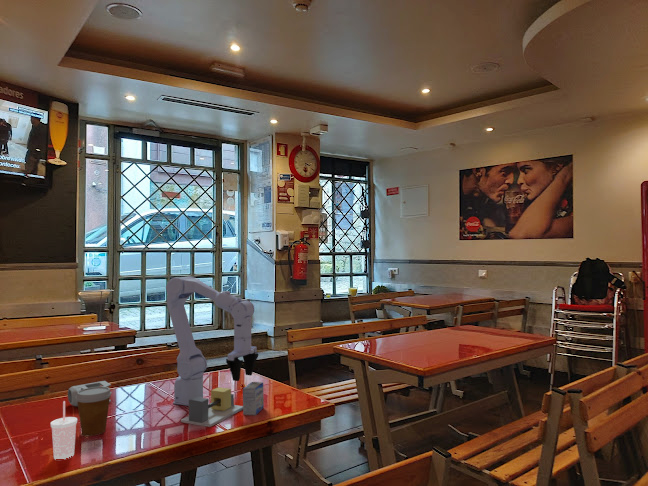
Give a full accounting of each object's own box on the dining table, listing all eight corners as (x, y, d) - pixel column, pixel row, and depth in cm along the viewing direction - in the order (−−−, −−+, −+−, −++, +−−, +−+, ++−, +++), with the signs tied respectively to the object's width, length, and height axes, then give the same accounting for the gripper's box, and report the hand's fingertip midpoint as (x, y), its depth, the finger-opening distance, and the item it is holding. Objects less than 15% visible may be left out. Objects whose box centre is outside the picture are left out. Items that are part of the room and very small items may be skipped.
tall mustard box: (211, 408, 154) (211, 390, 154) (218, 405, 158) (218, 387, 158) (223, 410, 152) (223, 392, 152) (231, 407, 156) (230, 388, 156)
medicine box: (255, 415, 150) (255, 388, 150) (242, 415, 151) (242, 387, 151) (263, 408, 158) (263, 382, 158) (251, 407, 159) (251, 381, 159)
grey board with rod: (181, 422, 145) (181, 398, 145) (216, 404, 162) (216, 383, 162) (210, 427, 141) (210, 402, 141) (243, 408, 157) (243, 387, 157)
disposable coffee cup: (87, 440, 131) (87, 397, 132) (68, 434, 136) (68, 392, 137) (118, 429, 139) (118, 388, 140) (99, 423, 144) (99, 384, 145)
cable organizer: (75, 392, 156) (113, 385, 164) (65, 384, 165) (102, 378, 173) (75, 413, 156) (113, 405, 164) (65, 403, 165) (102, 396, 173)
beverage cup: (44, 459, 120) (44, 403, 120) (65, 449, 125) (65, 396, 126) (62, 462, 117) (62, 406, 118) (82, 453, 123) (82, 399, 123)
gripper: (240, 341, 150) (240, 384, 150) (264, 334, 164) (264, 373, 163) (222, 340, 153) (222, 382, 153) (246, 333, 166) (246, 371, 166)
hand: (242, 377), depth 158 cm, fingers open, 7 cm apart
